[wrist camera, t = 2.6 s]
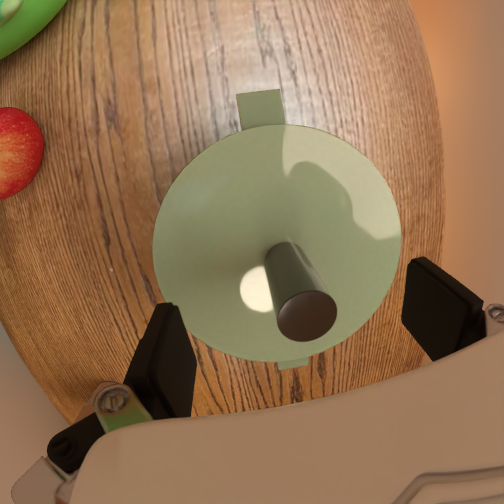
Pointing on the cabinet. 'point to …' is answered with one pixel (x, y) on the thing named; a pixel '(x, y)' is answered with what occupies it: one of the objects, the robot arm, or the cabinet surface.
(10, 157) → the apple
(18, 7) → the toy bird
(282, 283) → the lid
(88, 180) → the cabinet surface
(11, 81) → the cabinet surface
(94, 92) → the cabinet surface
